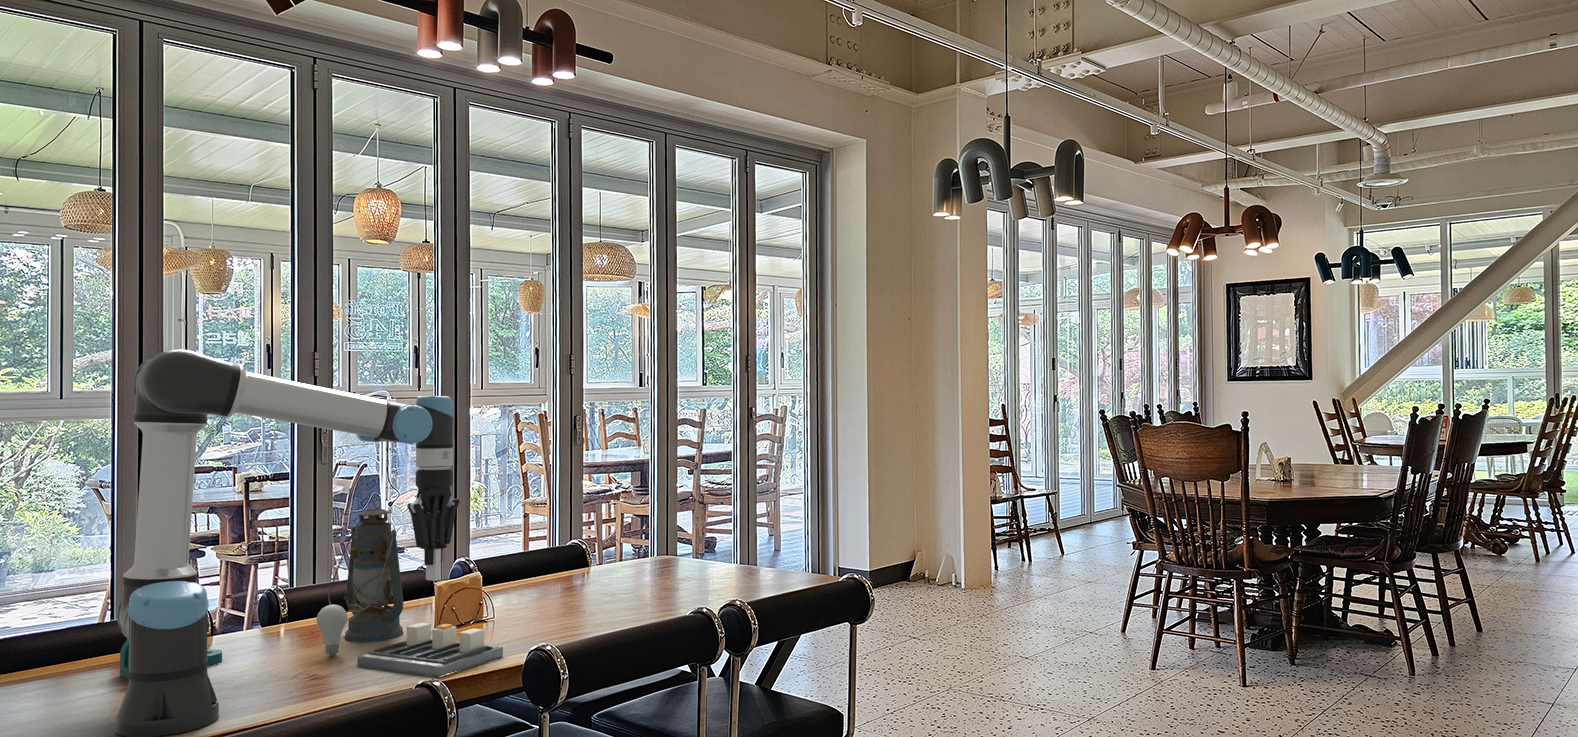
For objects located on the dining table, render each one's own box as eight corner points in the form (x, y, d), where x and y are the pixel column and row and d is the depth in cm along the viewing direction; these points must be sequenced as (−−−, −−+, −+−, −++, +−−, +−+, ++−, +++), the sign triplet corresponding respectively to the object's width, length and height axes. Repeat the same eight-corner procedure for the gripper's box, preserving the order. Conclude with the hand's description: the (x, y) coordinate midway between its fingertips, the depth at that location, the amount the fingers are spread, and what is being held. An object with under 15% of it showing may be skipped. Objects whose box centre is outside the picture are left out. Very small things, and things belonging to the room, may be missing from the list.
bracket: (132, 682, 207) (132, 642, 207) (120, 676, 211) (120, 637, 211) (227, 663, 221) (227, 625, 221) (214, 658, 225) (214, 621, 225)
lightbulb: (336, 660, 221) (335, 608, 221) (310, 659, 222) (310, 607, 223) (353, 652, 227) (353, 602, 227) (328, 651, 228) (328, 601, 229)
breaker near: (470, 652, 217) (470, 633, 217) (459, 651, 218) (459, 632, 218) (484, 648, 221) (483, 629, 221) (473, 647, 222) (473, 628, 222)
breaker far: (417, 646, 224) (416, 627, 224) (406, 645, 225) (406, 626, 225) (430, 642, 227) (430, 623, 227) (420, 640, 228) (420, 622, 229)
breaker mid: (443, 649, 220) (443, 627, 220) (432, 648, 221) (432, 626, 222) (456, 645, 224) (456, 623, 224) (446, 644, 225) (446, 622, 225)
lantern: (424, 634, 244) (423, 506, 245) (372, 647, 232) (372, 512, 233) (370, 626, 254) (369, 503, 255) (317, 638, 242) (317, 509, 243)
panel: (440, 677, 206) (440, 663, 206) (357, 665, 216) (357, 652, 216) (502, 656, 222) (502, 643, 222) (422, 646, 232) (422, 633, 232)
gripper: (424, 470, 214) (423, 585, 213) (469, 467, 225) (468, 576, 225) (397, 469, 217) (396, 583, 216) (443, 466, 229) (442, 574, 228)
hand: (433, 579), depth 220 cm, fingers closed
